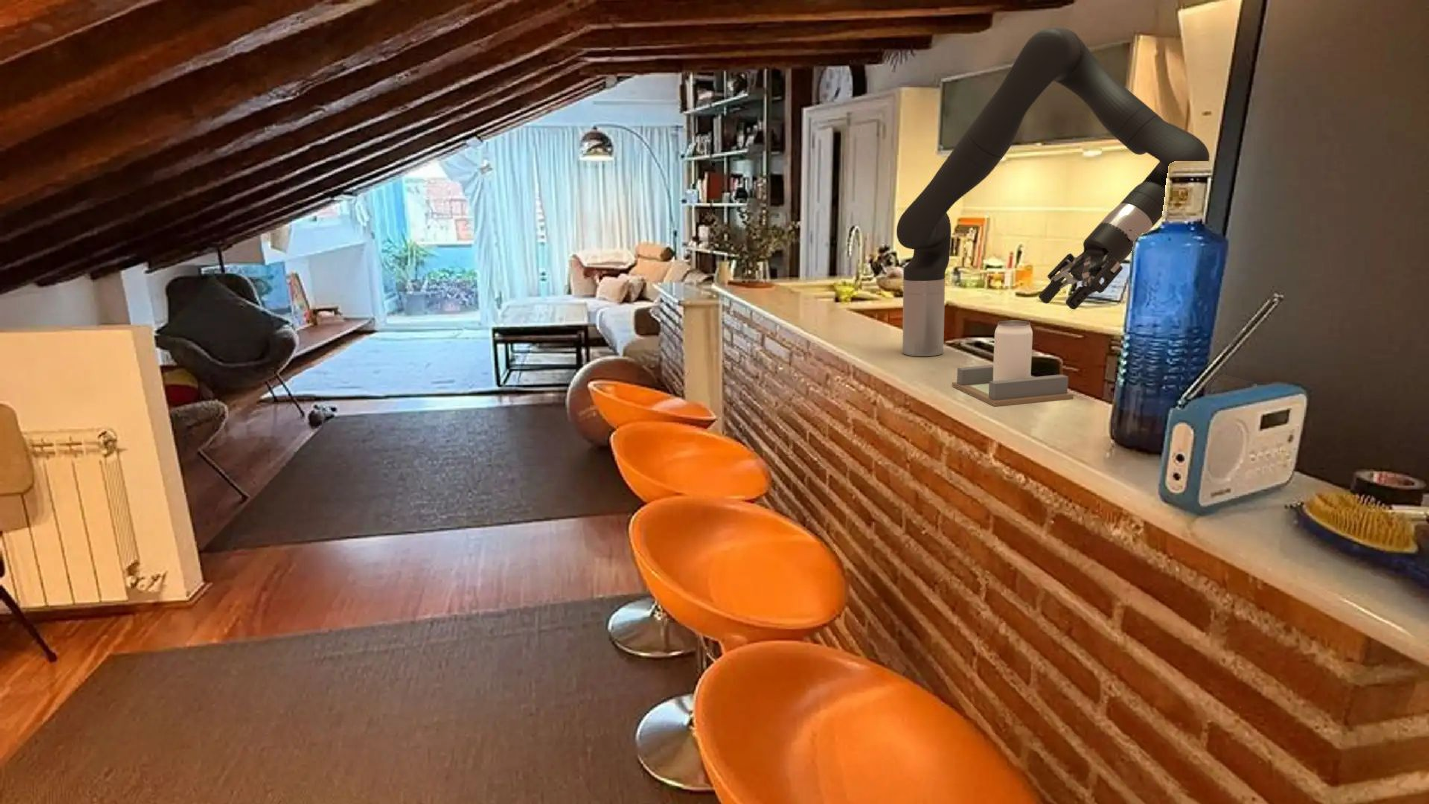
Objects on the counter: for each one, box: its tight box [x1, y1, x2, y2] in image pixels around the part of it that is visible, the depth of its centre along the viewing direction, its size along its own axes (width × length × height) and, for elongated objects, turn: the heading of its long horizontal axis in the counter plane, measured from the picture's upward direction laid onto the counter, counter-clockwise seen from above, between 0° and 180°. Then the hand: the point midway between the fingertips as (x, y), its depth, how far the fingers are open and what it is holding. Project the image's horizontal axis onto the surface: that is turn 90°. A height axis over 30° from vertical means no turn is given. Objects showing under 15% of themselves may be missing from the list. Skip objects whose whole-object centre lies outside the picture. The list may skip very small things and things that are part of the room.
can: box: [992, 320, 1034, 381], centre depth 145 cm, size 6×6×12 cm
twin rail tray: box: [951, 364, 1074, 407], centre depth 146 cm, size 16×15×4 cm
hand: (1055, 303), depth 144 cm, fingers open, 8 cm apart
